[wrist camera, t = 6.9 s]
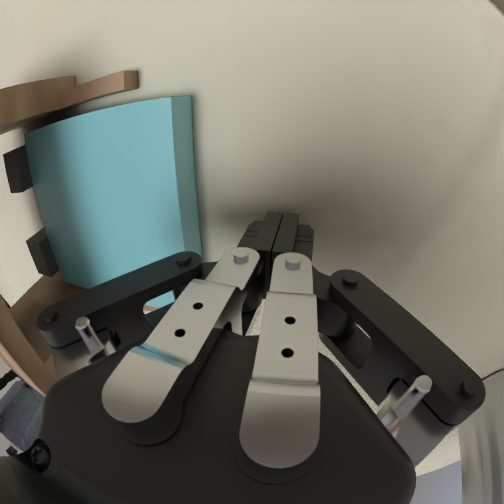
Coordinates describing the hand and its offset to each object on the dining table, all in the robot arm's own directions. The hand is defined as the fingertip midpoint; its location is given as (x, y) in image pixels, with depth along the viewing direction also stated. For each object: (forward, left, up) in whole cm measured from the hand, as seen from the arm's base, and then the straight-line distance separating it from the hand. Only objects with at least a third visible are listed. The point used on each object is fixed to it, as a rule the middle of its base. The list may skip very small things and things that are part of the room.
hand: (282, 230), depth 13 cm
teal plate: (+11, 0, -1) cm, 11 cm away
